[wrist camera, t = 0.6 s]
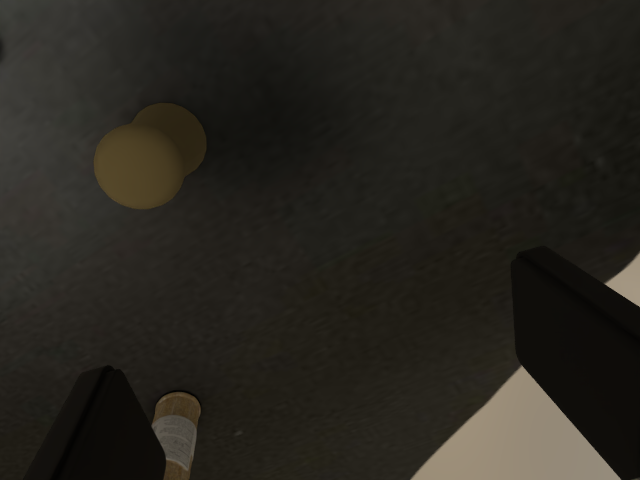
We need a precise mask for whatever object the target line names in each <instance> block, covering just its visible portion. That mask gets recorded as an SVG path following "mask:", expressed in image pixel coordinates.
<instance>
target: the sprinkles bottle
mask: <svg viewBox="0 0 640 480" xmlns="http://www.w3.org/2000/svg"><path fill="white" fill-rule="evenodd" d="M200 413H201V407H200V404H199V402H198V400H197V399H196V398H195V397H194V396H192V395H190V394H188V393H185V392H173V393H169V394H167V395H165V396H163V397H162V398H161V399H160V400H159V402H158V403H157V405H156V409H155V416H154V420H153V423H152V428H153V430H154V432H155V434H156V436H157V438H158V440H159V442H160V444H161V445H162V447H163V449H164V452H165V455H166V470H165V475H164V479H163V480H189V476H190V469H191V463H192V460H193V455H194V448H195V442H196V435H197V431H196V429H197V424H198V418H199V416H200Z"/></svg>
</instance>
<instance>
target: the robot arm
mask: <svg viewBox="0 0 640 480" xmlns="http://www.w3.org/2000/svg"><path fill="white" fill-rule="evenodd" d="M511 279H512V296H513V313H514V330H515V347H516V354H517V357H518V359H519V361H520V363H521V365H522V366H523V367H524V368H525V369H526V371H527V372H528V373H529V374H530V375H531V376H532V378H534V380H535V381H536V382H537V383H538V384H539V386H540V387H541V388H542V389H543V390H544V391H545V392H546V394H547V395H548V396H549V397H550V398H551V399H552V401H553V402H554V403H555V404H556V405H557V406H558V407H559V408H560V410H561V411H562V412H563V413H564V414H565V415H566V417H567V418H568V419H569V420H570V421H571V422H572V423H573V424H574V426H575V427H576V428H577V429H578V430H579V431H580V432H581V434H582V435H583V436H584V437H585V438H586V439H587V441H588V442H589V443H590V444H591V445H592V446H593V447H594V449H595V450H596V451H597V452H598V453H599V455H600V456H601V457H602V458H603V459H604V460H605V461H606V462H607V464H608V465H609V466H610V467H611V468H612V469H613V471H614V472H615V473H616V474H617V475H618V476H619V477H620V479H621V480H640V307H639V306H637V305H636V304H634V303H632V302H631V301H629V300H628V299H626V298H625V297H623V296H622V295H620V294H619V293H617V292H616V291H614V290H612V289H611V288H609V287H608V286H606V285H605V284H603V283H602V282H600V281H599V280H597V279H595V278H594V277H592V276H591V275H589V274H588V273H586V272H585V271H583V270H582V269H580V268H578V267H577V266H575V265H574V264H572V263H571V262H569V261H568V260H566V259H565V258H563V257H561V256H560V255H558V254H557V253H555V252H554V251H552V250H551V249H549V248H548V247H545V246H540V247H536V248H532V249H529V250H525V251H521V252H519V253H518V254H517V257H516V259H515V260H513V261H512V262H511ZM165 470H166V455H165V452H164V449H163V447H162V445H161V444H160V442H159V440H158V438H157V436H156V434H155V432H154V430H153V428H152V426H151V424H150V423H149V421H148V419H147V417H146V415H145V413H144V411H143V409H142V407H141V405H140V404H139V402H138V400H137V398H136V396H135V394H134V392H133V390H132V388H131V386H130V384H129V383H128V381H127V379H126V377H125V375H124V373H123V372H122V371H121V370H120V369H117V370H115V369H114V368H113V367H112V366H109V365H107V366H104V367H100V368H97V369H93V370H89V371H86V372H83V373H82V374H81V375H80V376H79V378H78V380H77V381H76V383H75V385H74V387H73V389H72V391H71V392H70V394H69V396H68V398H67V400H66V401H65V403H64V405H63V407H62V409H61V411H60V412H59V414H58V416H57V418H56V420H55V422H54V423H53V425H52V427H51V429H50V431H49V433H48V434H47V436H46V438H45V440H44V442H43V444H42V445H41V447H40V449H39V451H38V453H37V455H36V456H35V458H34V460H33V462H32V464H31V465H30V467H29V469H28V471H27V473H26V475H25V476H24V478H23V480H163V479H164V475H165Z"/></svg>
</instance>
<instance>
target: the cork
mask: <svg viewBox="0 0 640 480" xmlns="http://www.w3.org/2000/svg"><path fill="white" fill-rule="evenodd" d="M205 153H206V135H205V133H204V130H203V127H202V125H201V124H200V122H199V121H198V120H197V118H196V117H195V116H194V115H193V114H192V113H190V112H189V111H188V110H186V109H185V108H183V107H181V106H178V105H175V104H173V103H157V104H153V105H149V106H147V107H146V108H144V109H143V110H141V111H140V112H139V113H138V114H137V115H136V117H135V118H134V120H133V121H132V122H131V123H130V124H127V125H123V126H119V127H117V128H115V129H113V130H112V131H110V132H109V133H108V134H106V135H105V136H104V137H103V139H102V140H101V142H100V143H99V144H98V146H97V148H96V153H95V157H94V161H93V163H94V172H95V176H96V178H97V180H98V183H99V185H100V187H101V188H102V189H103V190H104V191H105V193H106V194H107V195H108V196H109V197H110V198H111V199H113V200H115V201H116V202H118V203H119V204H121V205H123V206H127V207H130V208H133V209H150V208H154V207H157V206H161V205H163V204H165V203H166V202H168V201H169V200H171V199H172V198H173V197H174V196H175V195H176V193H177V192H178V191H179V189H180V188H181V186H182V183H183V180H184V177H185V176H187V175H188V174H190V173H191V172H193V171H194V170H196V169H197V168H198V166H199V165H200V164H201V162H202V161H203V159H204V156H205Z"/></svg>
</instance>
